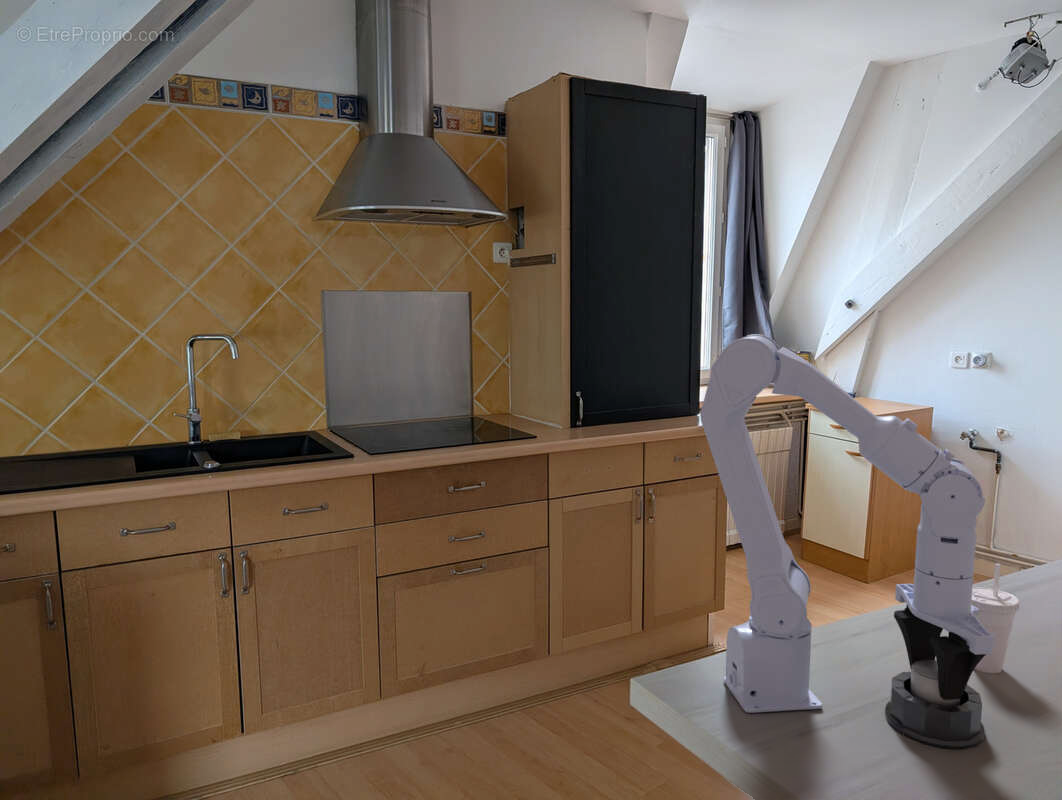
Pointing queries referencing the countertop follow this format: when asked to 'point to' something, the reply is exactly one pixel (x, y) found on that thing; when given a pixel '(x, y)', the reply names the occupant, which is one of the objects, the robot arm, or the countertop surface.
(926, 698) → the cap
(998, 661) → the smoothie
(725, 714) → the countertop surface
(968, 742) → the dark grey pot
